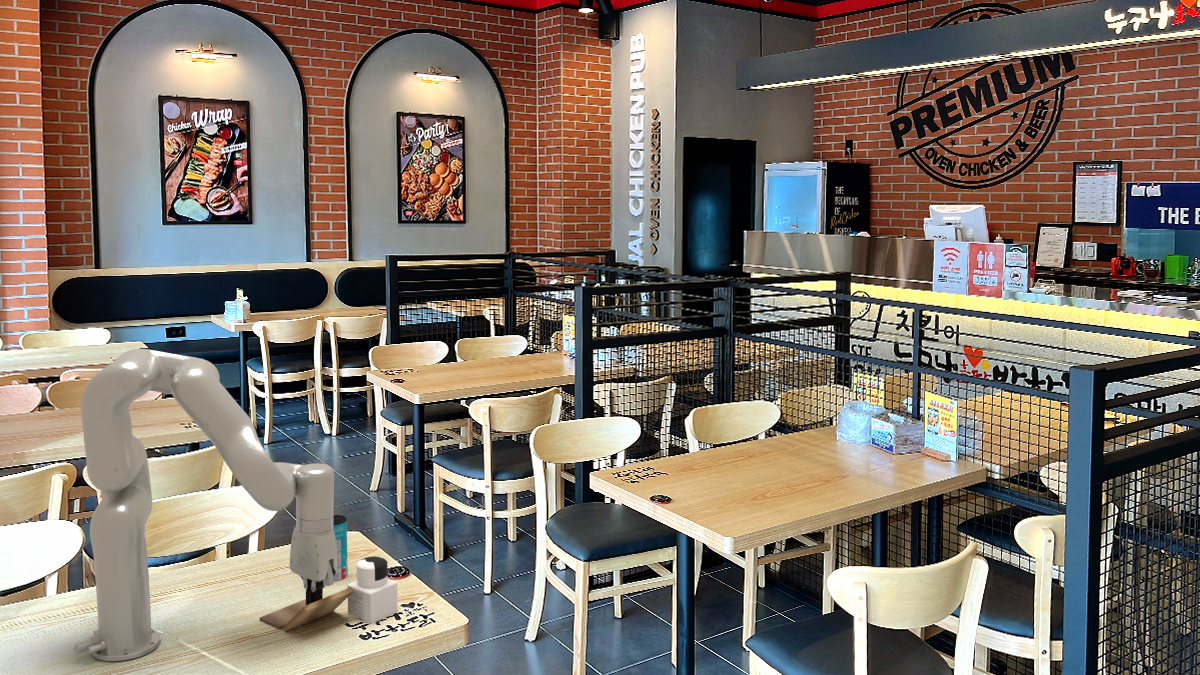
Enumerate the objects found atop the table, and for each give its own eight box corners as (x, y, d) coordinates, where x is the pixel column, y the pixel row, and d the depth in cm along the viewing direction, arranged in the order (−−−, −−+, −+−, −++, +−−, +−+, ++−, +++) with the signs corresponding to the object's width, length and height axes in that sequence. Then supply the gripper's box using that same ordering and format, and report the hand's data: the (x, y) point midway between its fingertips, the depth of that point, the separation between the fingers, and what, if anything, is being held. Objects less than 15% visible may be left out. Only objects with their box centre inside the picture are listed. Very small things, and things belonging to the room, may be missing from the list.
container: (374, 605, 217) (373, 550, 215) (398, 615, 212) (397, 558, 210) (347, 617, 211) (346, 561, 209) (371, 627, 206) (370, 569, 204)
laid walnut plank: (315, 648, 196) (315, 642, 196) (259, 623, 207) (259, 617, 206) (364, 626, 207) (363, 620, 206) (308, 603, 217) (307, 597, 217)
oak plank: (306, 611, 197) (303, 606, 197) (285, 632, 202) (282, 627, 202) (354, 591, 207) (351, 586, 207) (333, 611, 212) (330, 606, 212)
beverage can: (352, 579, 231) (351, 519, 229) (331, 586, 226) (330, 525, 224) (338, 572, 235) (337, 513, 232) (317, 579, 230) (315, 519, 228)
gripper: (276, 519, 203) (276, 602, 206) (324, 536, 195) (324, 622, 197) (305, 511, 209) (304, 591, 212) (353, 526, 201) (352, 610, 204)
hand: (314, 605), depth 205 cm, fingers closed
